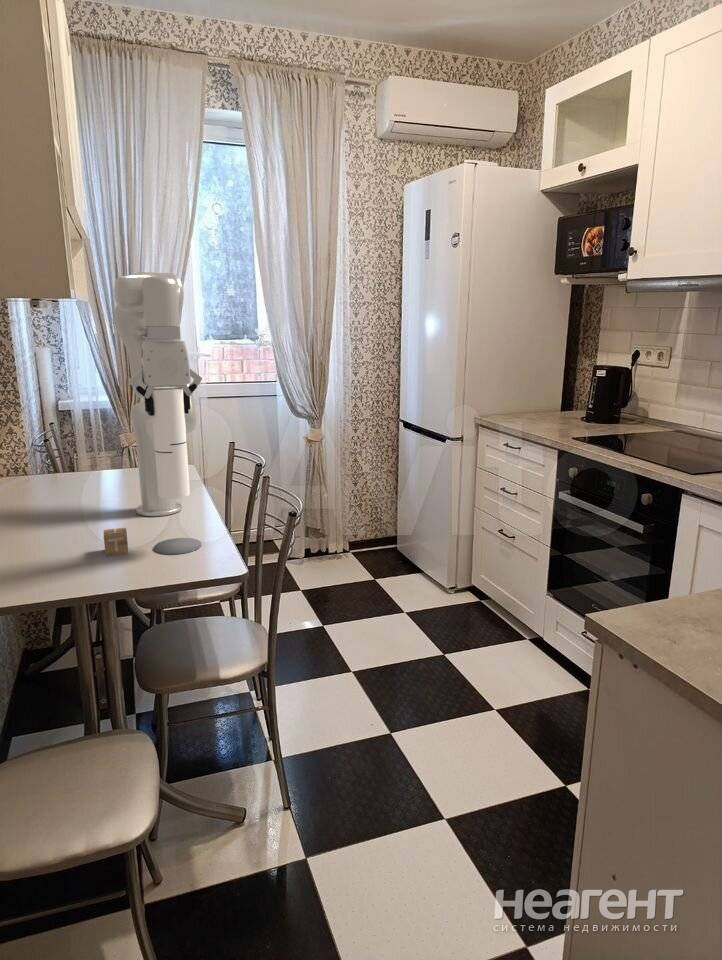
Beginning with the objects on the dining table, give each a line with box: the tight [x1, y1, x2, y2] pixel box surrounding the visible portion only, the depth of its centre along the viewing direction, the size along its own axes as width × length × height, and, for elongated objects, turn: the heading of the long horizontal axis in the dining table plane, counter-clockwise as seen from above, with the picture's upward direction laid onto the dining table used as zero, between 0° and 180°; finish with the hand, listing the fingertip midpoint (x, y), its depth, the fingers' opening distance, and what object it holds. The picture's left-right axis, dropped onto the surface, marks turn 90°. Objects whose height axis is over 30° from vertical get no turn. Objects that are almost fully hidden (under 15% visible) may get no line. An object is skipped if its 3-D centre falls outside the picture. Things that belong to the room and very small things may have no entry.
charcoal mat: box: [153, 537, 202, 556], centre depth 154 cm, size 11×11×1 cm
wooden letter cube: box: [103, 527, 129, 557], centre depth 150 cm, size 5×5×5 cm
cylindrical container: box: [151, 387, 191, 499], centre depth 148 cm, size 7×7×25 cm
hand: (168, 413), depth 146 cm, fingers closed on cylindrical container, 7 cm apart
